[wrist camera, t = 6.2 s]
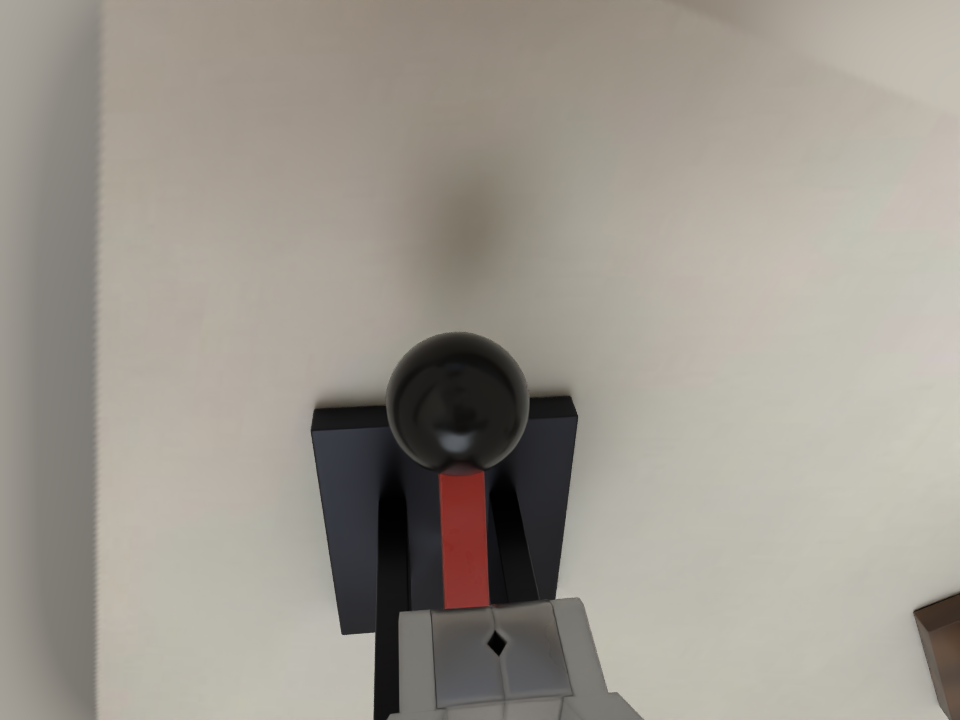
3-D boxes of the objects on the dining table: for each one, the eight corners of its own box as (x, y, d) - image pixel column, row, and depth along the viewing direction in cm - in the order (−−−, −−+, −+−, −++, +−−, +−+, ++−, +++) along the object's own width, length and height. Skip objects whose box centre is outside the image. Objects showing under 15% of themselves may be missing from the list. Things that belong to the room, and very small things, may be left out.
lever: (384, 334, 18) (378, 335, 15) (514, 329, 19) (539, 328, 15) (407, 834, 19) (407, 951, 16) (532, 820, 19) (560, 931, 16)
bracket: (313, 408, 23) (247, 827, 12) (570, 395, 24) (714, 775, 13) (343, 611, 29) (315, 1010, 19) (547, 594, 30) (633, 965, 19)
